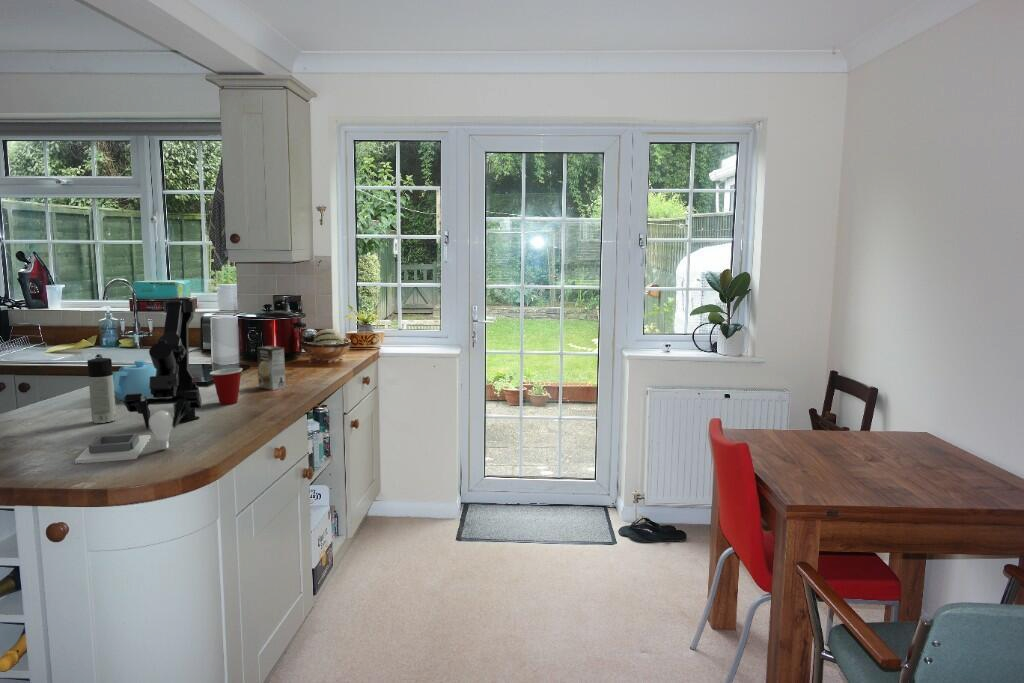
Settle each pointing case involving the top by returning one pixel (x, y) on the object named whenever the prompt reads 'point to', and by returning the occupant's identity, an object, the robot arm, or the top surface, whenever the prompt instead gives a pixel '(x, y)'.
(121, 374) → the teapot
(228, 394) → the plastic cup
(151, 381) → the robot arm
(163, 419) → the lightbulb
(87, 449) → the bulb holder
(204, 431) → the top surface
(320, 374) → the top surface
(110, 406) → the spray can
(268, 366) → the coffee box
